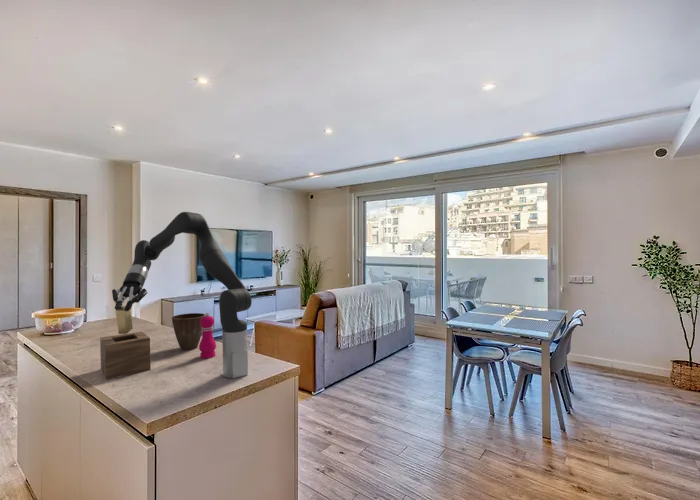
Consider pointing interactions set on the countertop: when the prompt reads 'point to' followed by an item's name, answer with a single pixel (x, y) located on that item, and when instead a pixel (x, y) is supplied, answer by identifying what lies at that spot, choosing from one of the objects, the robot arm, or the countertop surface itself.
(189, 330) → the plant pot
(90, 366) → the countertop surface
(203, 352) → the pepper mill
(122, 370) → the wooden box
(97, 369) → the countertop surface
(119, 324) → the beige rectangular block
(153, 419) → the countertop surface
